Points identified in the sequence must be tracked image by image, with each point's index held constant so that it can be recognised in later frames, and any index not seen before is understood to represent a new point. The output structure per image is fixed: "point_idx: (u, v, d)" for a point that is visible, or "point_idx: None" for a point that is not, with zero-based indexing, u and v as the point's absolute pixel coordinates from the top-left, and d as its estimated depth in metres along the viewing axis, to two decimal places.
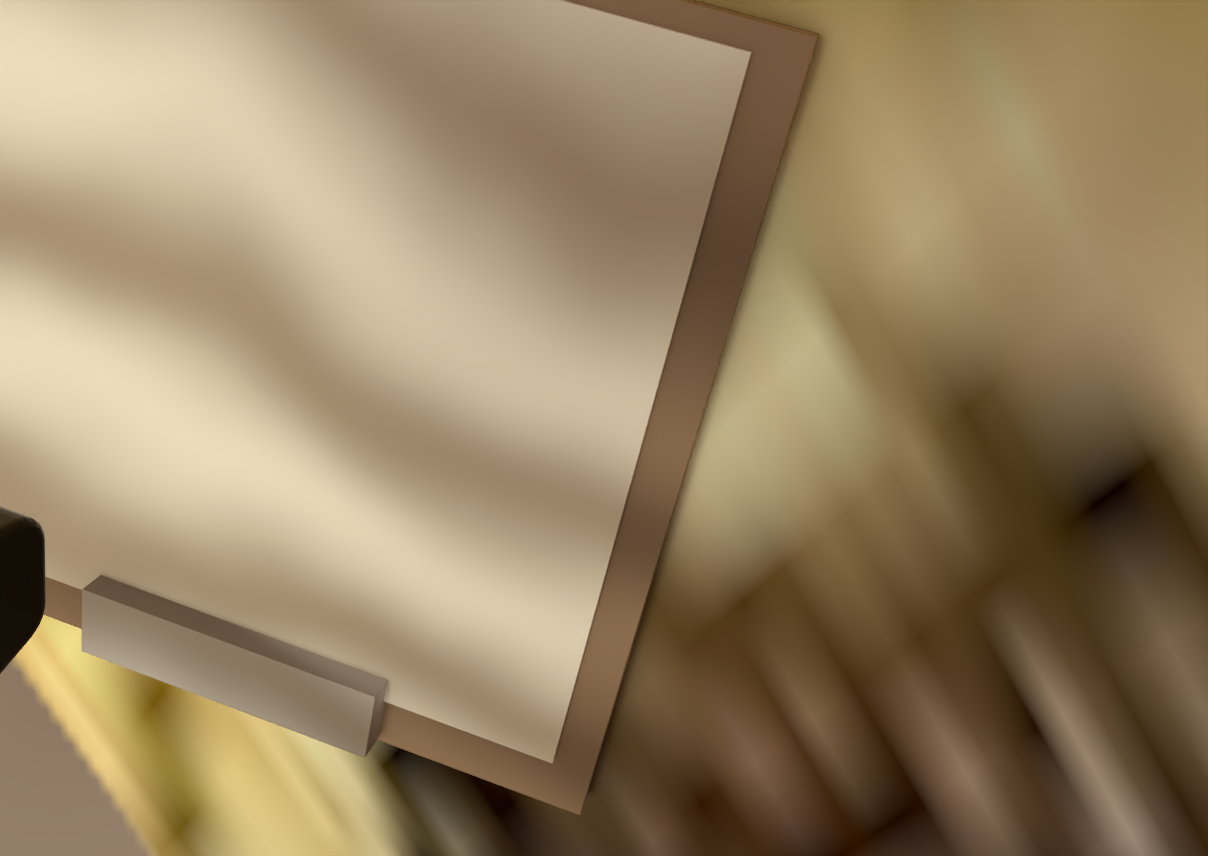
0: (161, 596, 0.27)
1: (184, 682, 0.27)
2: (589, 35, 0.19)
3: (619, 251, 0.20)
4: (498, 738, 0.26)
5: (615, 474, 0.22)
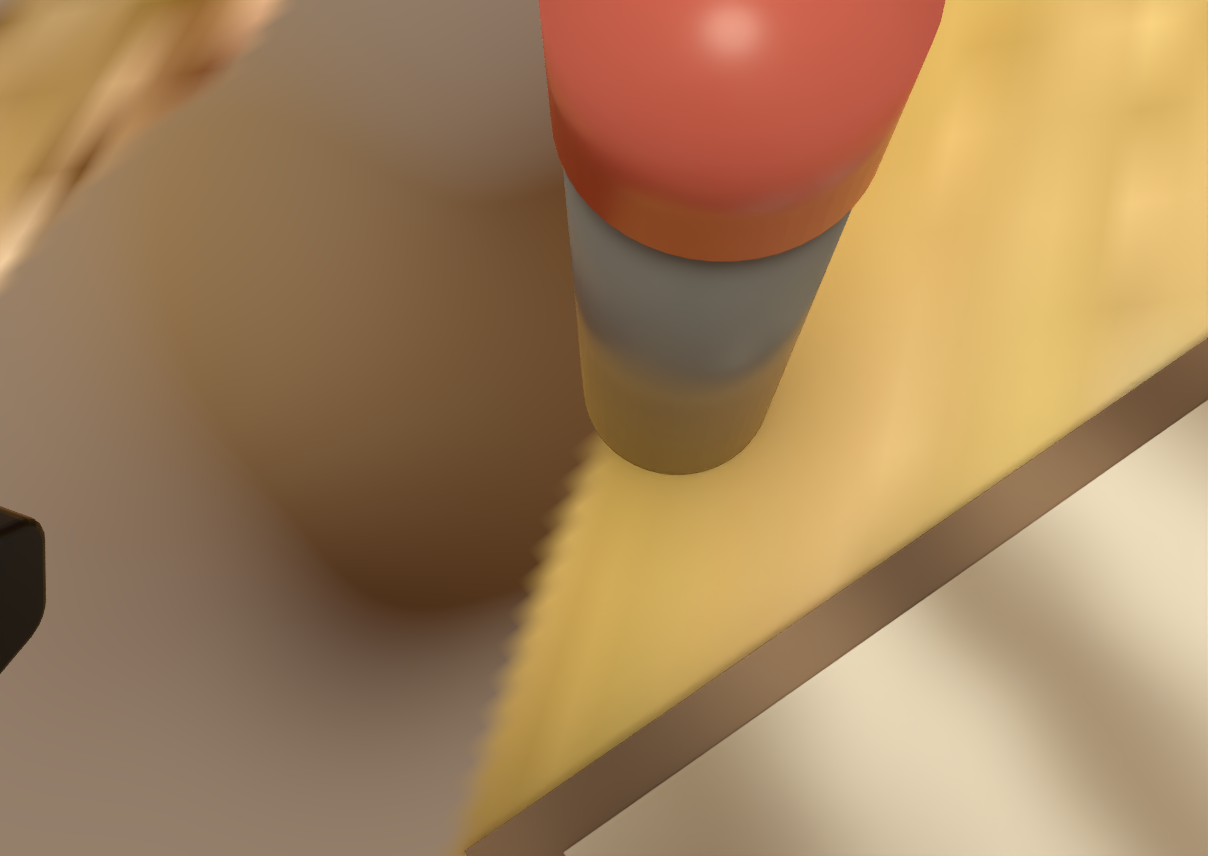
0: None
1: None
2: None
3: None
4: None
5: None
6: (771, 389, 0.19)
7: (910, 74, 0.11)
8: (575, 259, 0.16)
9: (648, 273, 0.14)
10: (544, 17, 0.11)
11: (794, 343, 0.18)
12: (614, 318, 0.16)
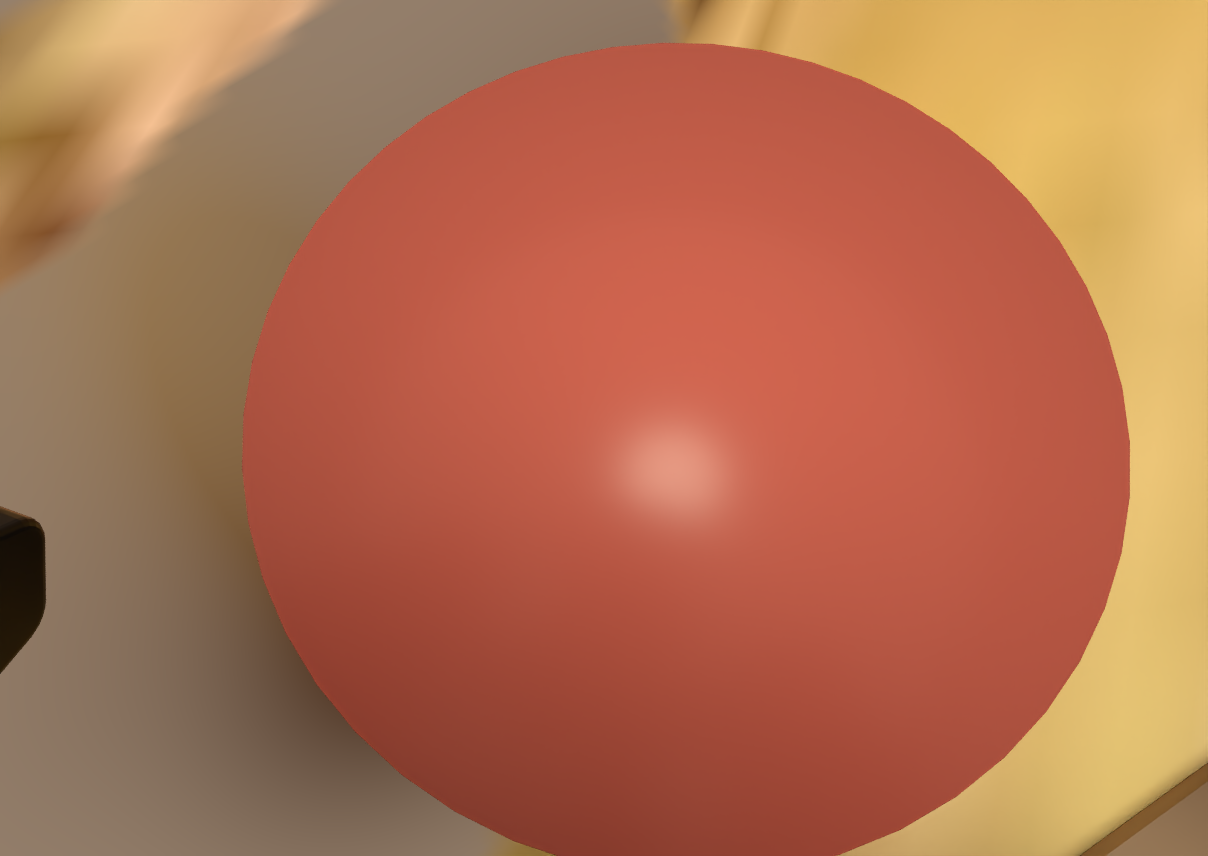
0: None
1: None
2: None
3: None
4: None
5: None
6: None
7: (1055, 693, 0.05)
8: None
9: None
10: (250, 508, 0.05)
11: None
12: None
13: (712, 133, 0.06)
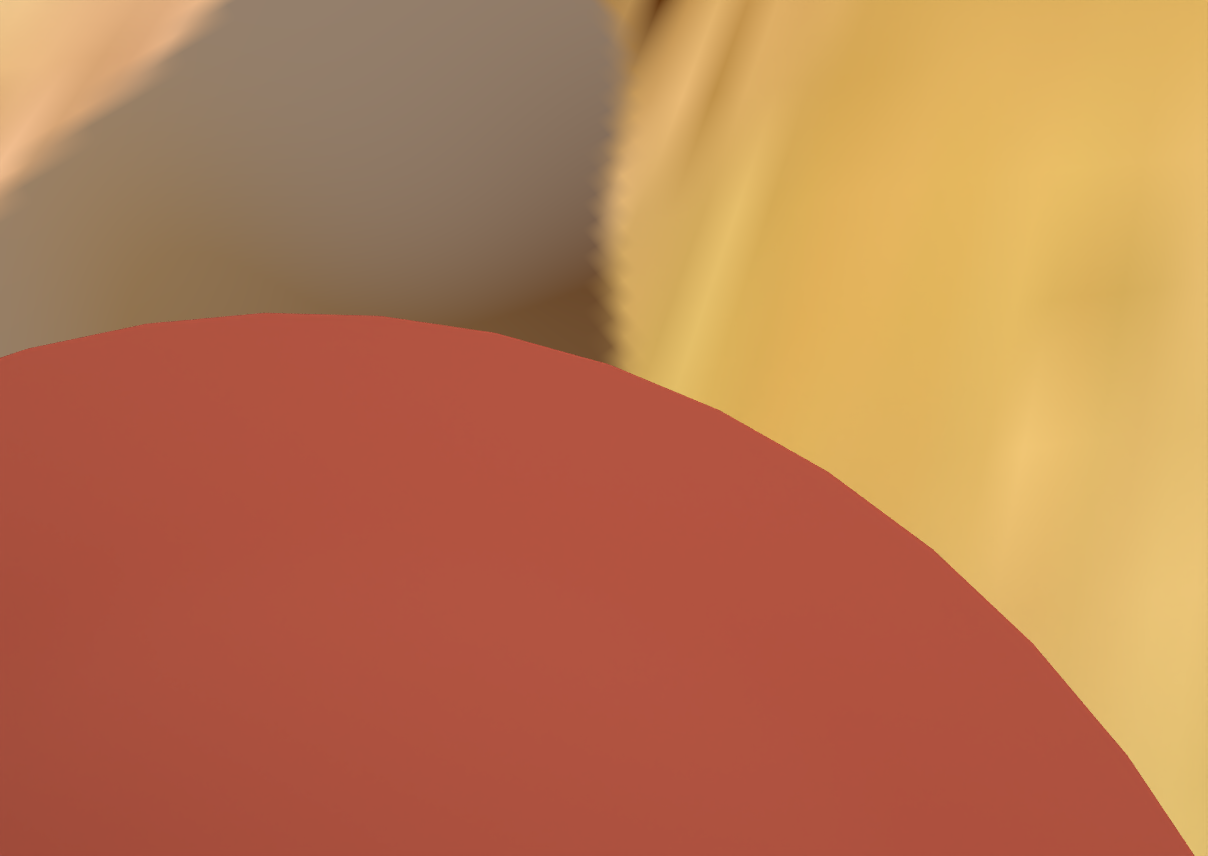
0: None
1: None
2: None
3: None
4: None
5: None
6: None
7: None
8: None
9: None
10: None
11: None
12: None
13: (354, 558, 0.02)
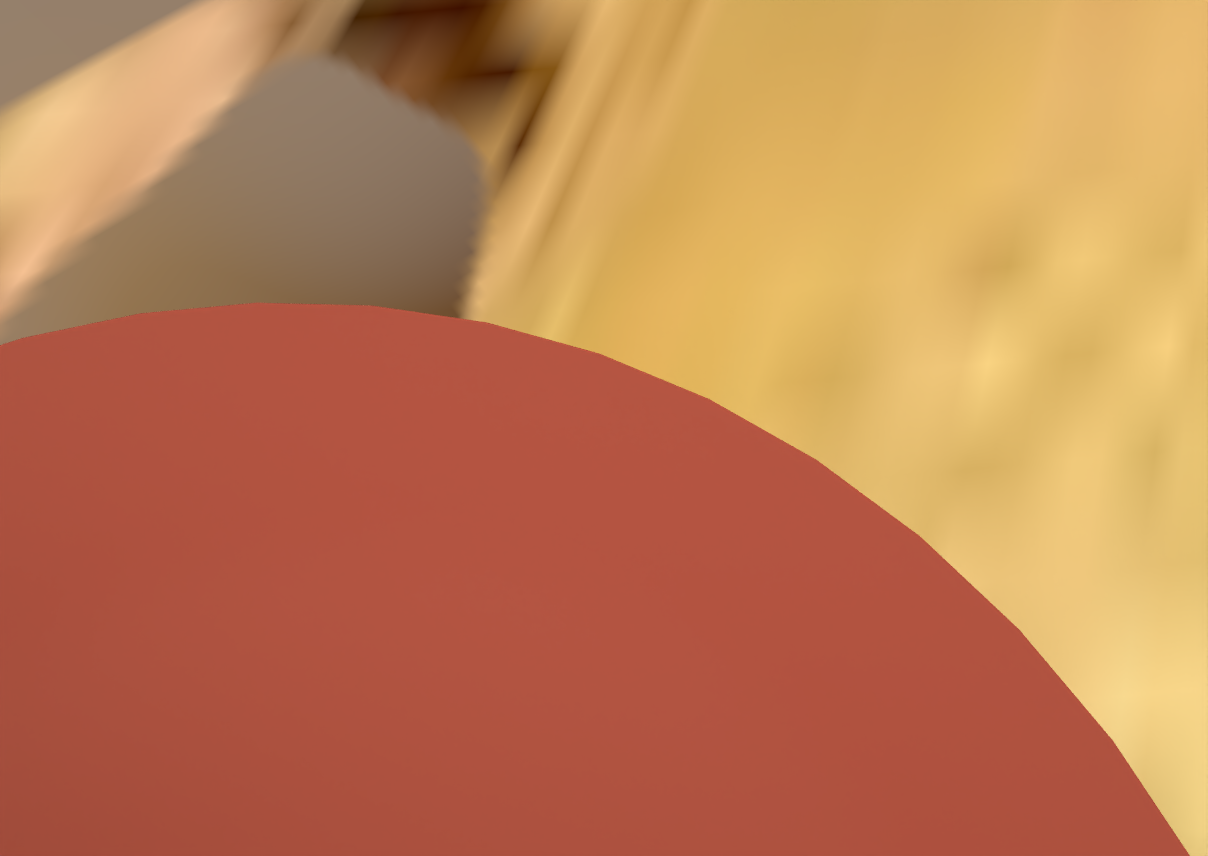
0: None
1: None
2: None
3: None
4: None
5: None
6: None
7: None
8: None
9: None
10: None
11: None
12: None
13: (345, 544, 0.02)
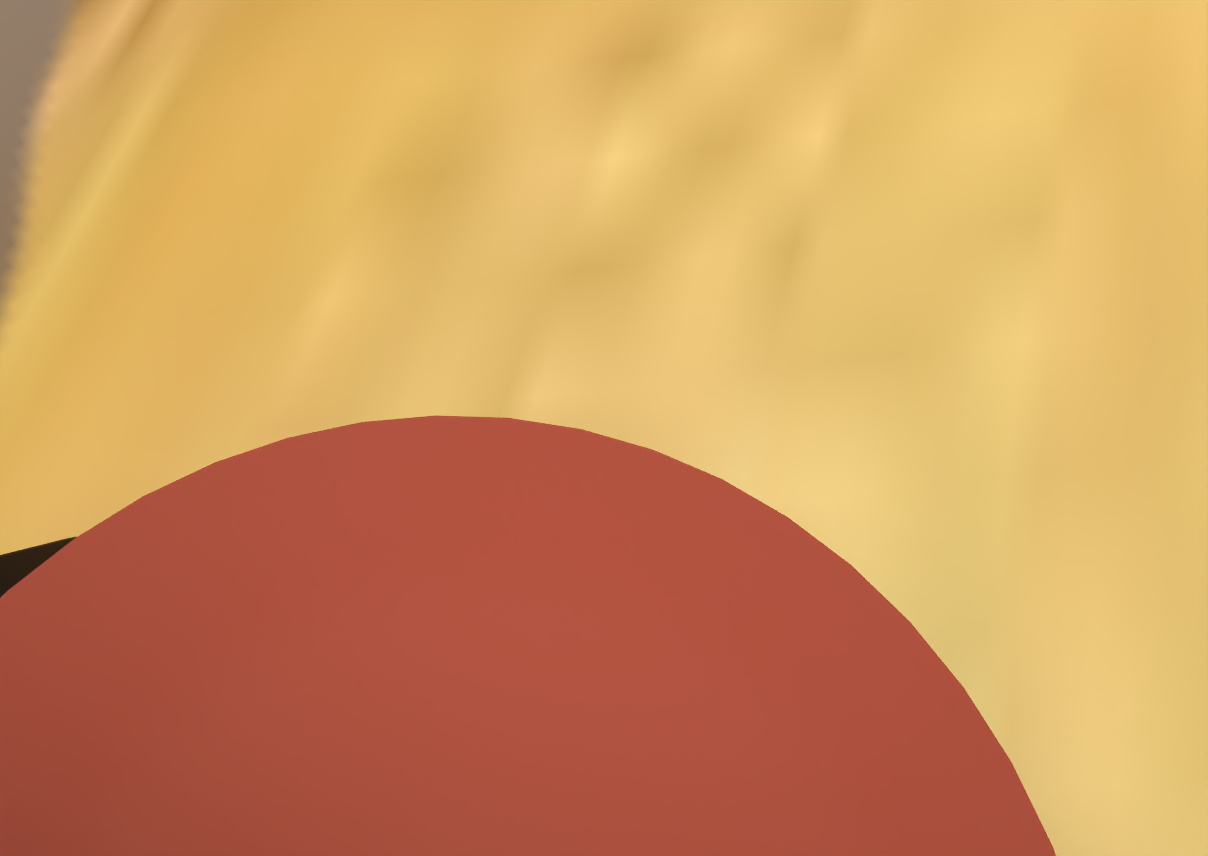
0: None
1: None
2: None
3: None
4: None
5: None
6: None
7: None
8: None
9: None
10: None
11: None
12: None
13: (499, 570, 0.04)
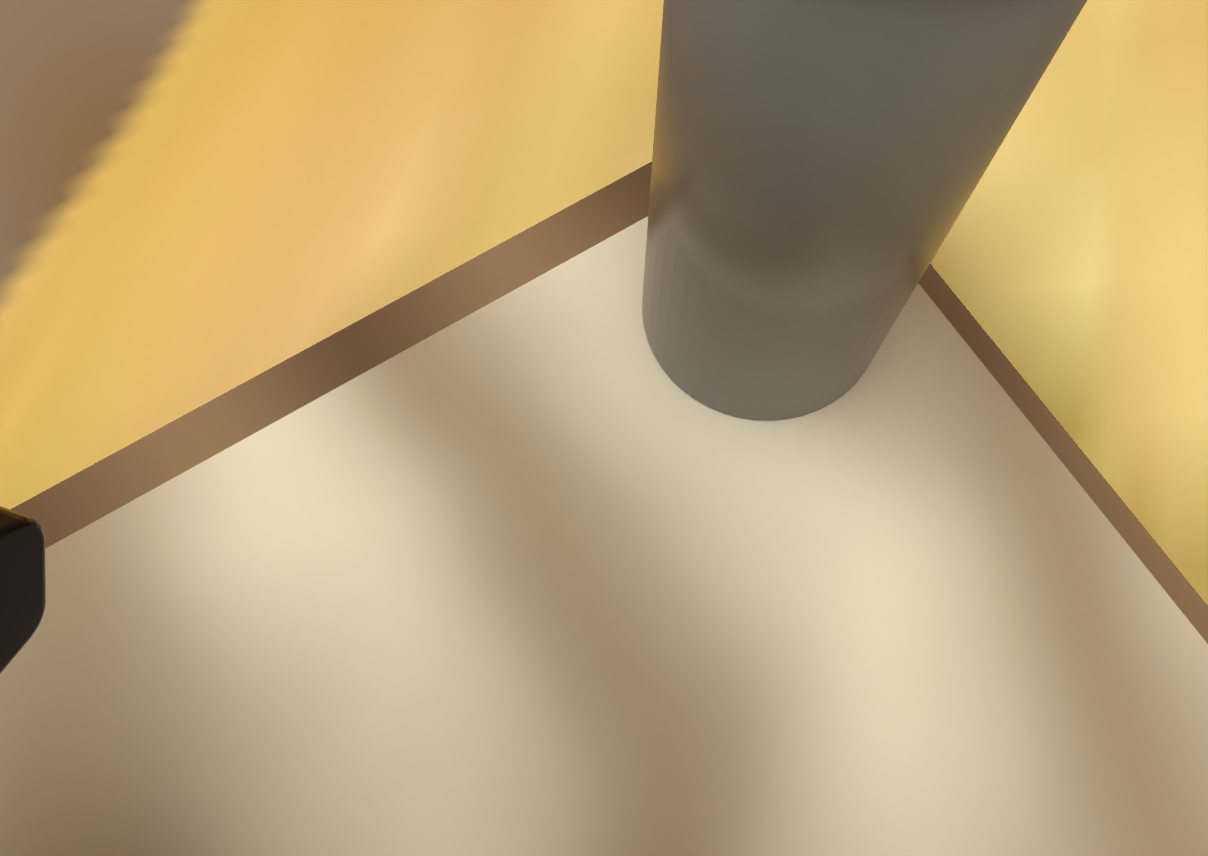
0: None
1: None
2: None
3: None
4: None
5: None
6: (910, 291, 0.14)
7: None
8: (674, 48, 0.11)
9: (813, 13, 0.09)
10: None
11: None
12: (730, 133, 0.11)
13: None
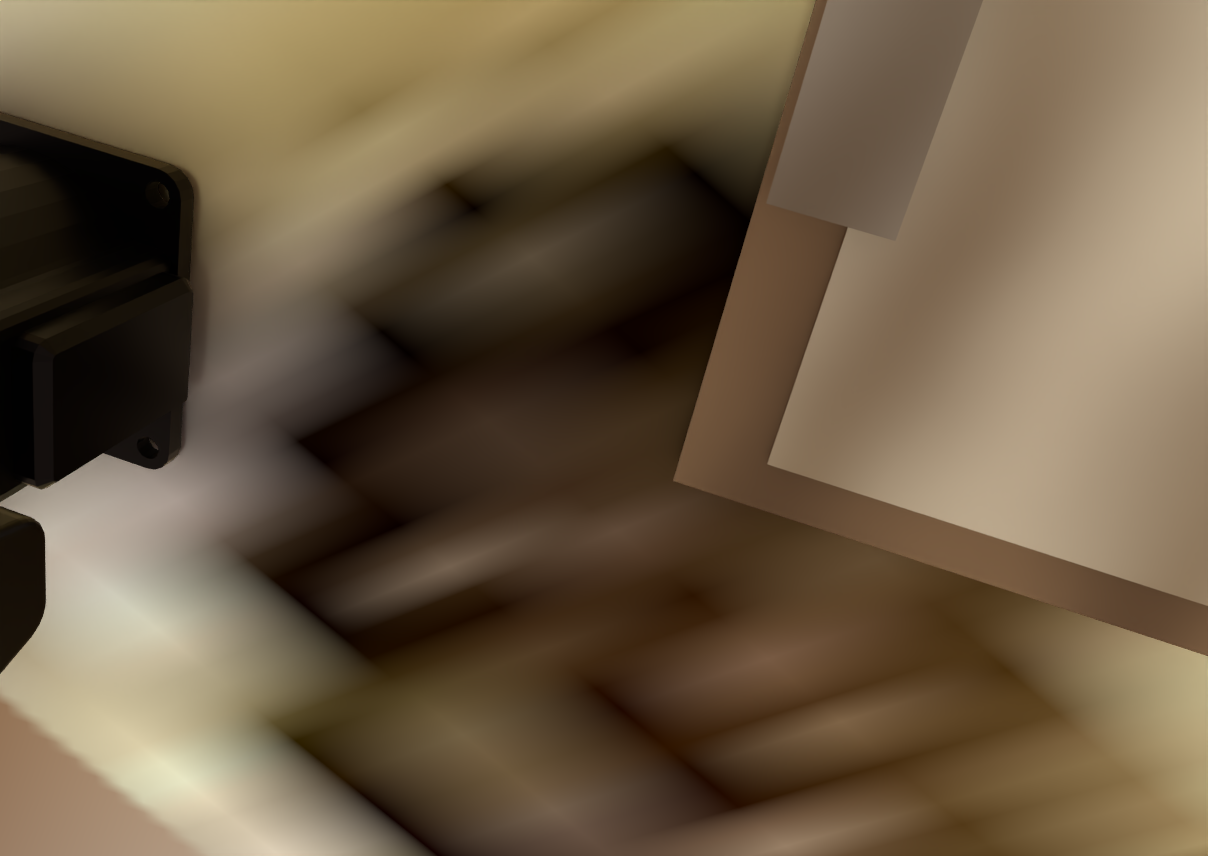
0: None
1: None
2: None
3: None
4: (801, 393, 0.18)
5: None
6: None
7: None
8: None
9: None
10: None
11: None
12: None
13: None
